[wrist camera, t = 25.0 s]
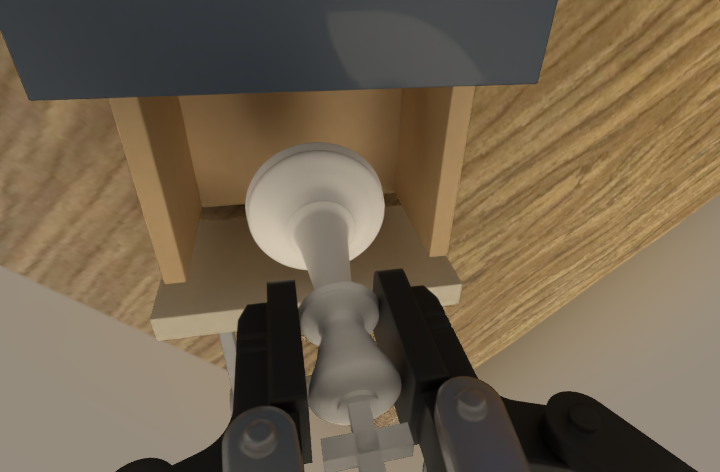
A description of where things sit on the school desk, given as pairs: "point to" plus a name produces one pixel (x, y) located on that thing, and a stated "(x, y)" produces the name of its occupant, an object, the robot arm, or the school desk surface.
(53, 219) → the school desk surface
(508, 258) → the school desk surface
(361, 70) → the cabinet
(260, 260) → the drawer
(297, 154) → the chess piece
